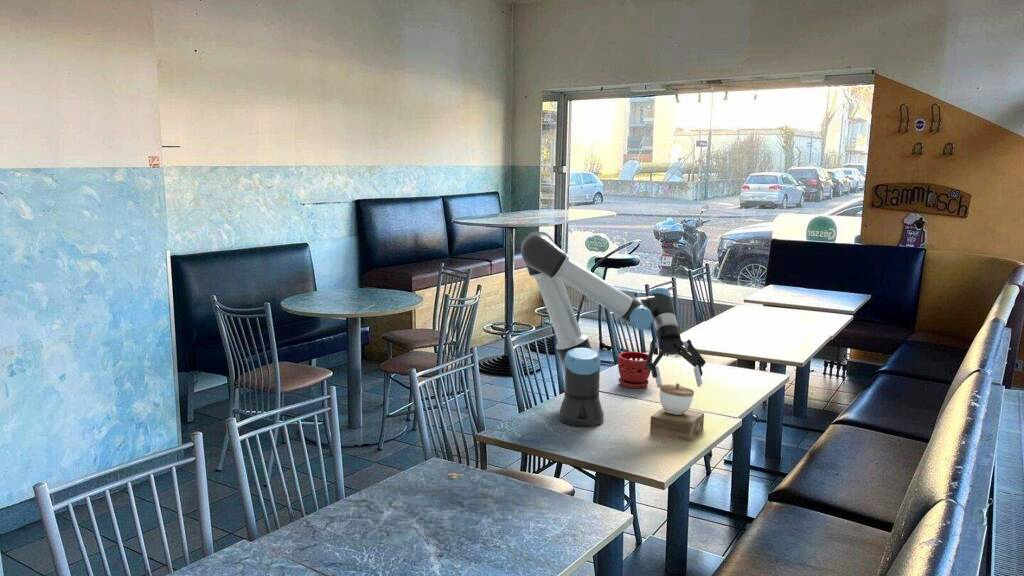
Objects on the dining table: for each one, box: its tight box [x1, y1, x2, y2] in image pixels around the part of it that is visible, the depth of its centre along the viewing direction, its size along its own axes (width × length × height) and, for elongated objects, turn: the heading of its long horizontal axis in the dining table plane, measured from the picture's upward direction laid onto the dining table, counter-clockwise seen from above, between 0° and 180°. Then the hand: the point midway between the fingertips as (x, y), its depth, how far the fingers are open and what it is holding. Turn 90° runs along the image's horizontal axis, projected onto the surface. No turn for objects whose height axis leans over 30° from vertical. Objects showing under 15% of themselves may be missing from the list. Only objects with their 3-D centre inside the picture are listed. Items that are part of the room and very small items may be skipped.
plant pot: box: [617, 351, 653, 389], centre depth 285 cm, size 13×13×12 cm
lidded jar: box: [659, 383, 695, 415], centre depth 236 cm, size 11×11×9 cm
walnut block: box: [649, 407, 705, 442], centre depth 236 cm, size 13×13×6 cm
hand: (680, 385), depth 237 cm, fingers open, 13 cm apart
